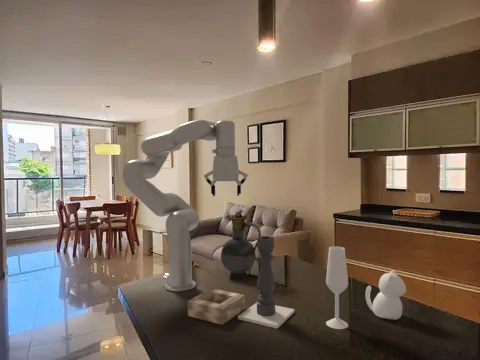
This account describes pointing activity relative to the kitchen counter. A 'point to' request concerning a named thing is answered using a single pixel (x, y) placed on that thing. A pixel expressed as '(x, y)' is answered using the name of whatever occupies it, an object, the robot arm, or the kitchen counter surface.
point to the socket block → (216, 306)
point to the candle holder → (265, 277)
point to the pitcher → (239, 248)
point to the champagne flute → (337, 281)
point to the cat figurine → (388, 296)
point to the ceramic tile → (269, 321)
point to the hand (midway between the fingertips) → (226, 195)
